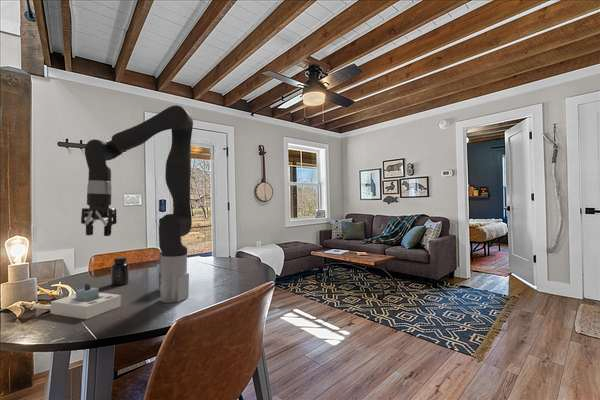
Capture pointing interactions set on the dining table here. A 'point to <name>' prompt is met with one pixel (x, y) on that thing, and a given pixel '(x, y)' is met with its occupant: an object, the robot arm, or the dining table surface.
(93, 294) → the plug block
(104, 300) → the socket plate
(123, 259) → the supplement bottle
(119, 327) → the dining table surface
